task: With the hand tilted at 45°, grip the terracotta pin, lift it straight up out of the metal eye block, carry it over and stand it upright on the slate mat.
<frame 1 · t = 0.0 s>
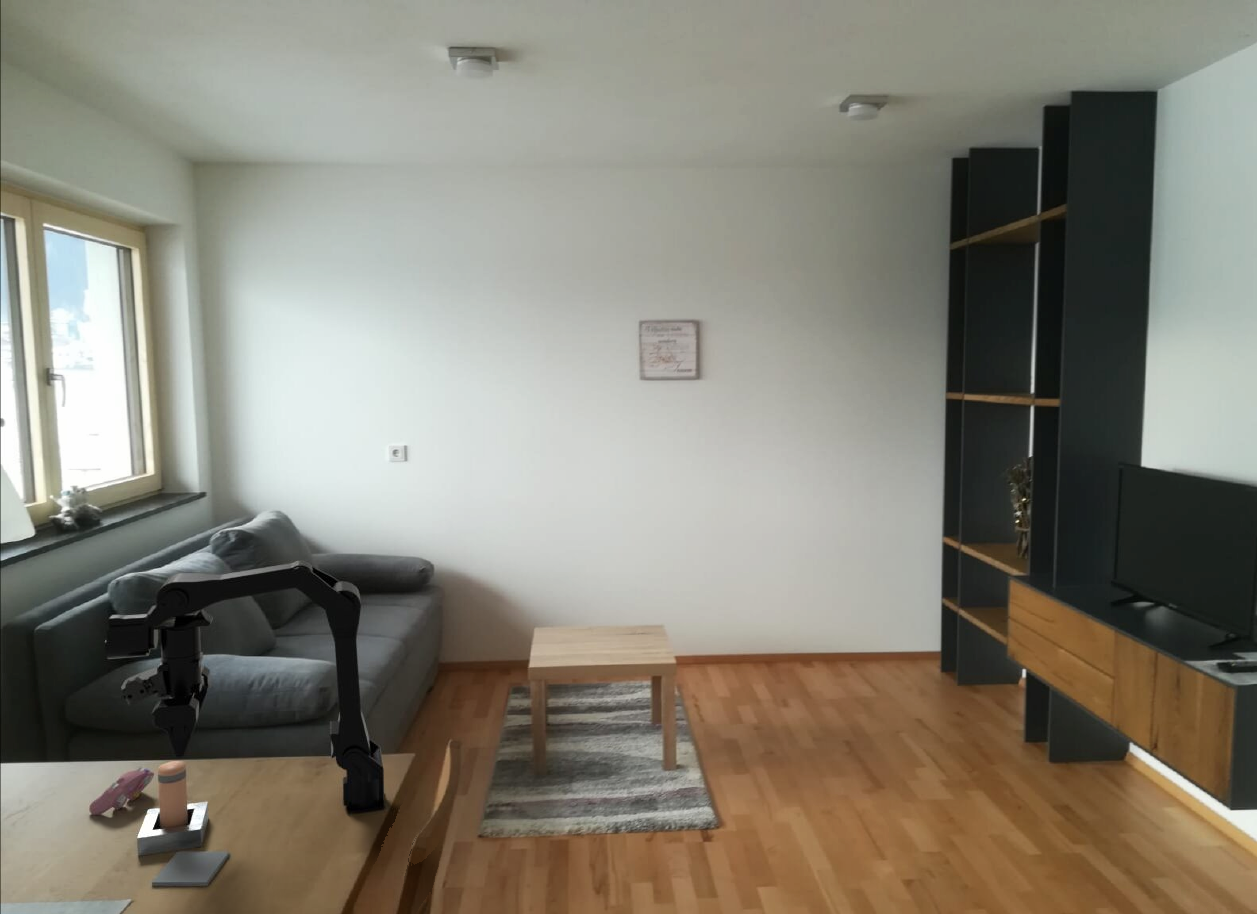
hand: (184, 744, 142), 15 cm above the table, tool pointing down, fingers open, 9 cm apart
mat: (191, 869, 132), on the table
pin: (173, 801, 140), in the eye block
eye block: (174, 836, 141), on the table
video game controller: (123, 804, 151), on the table
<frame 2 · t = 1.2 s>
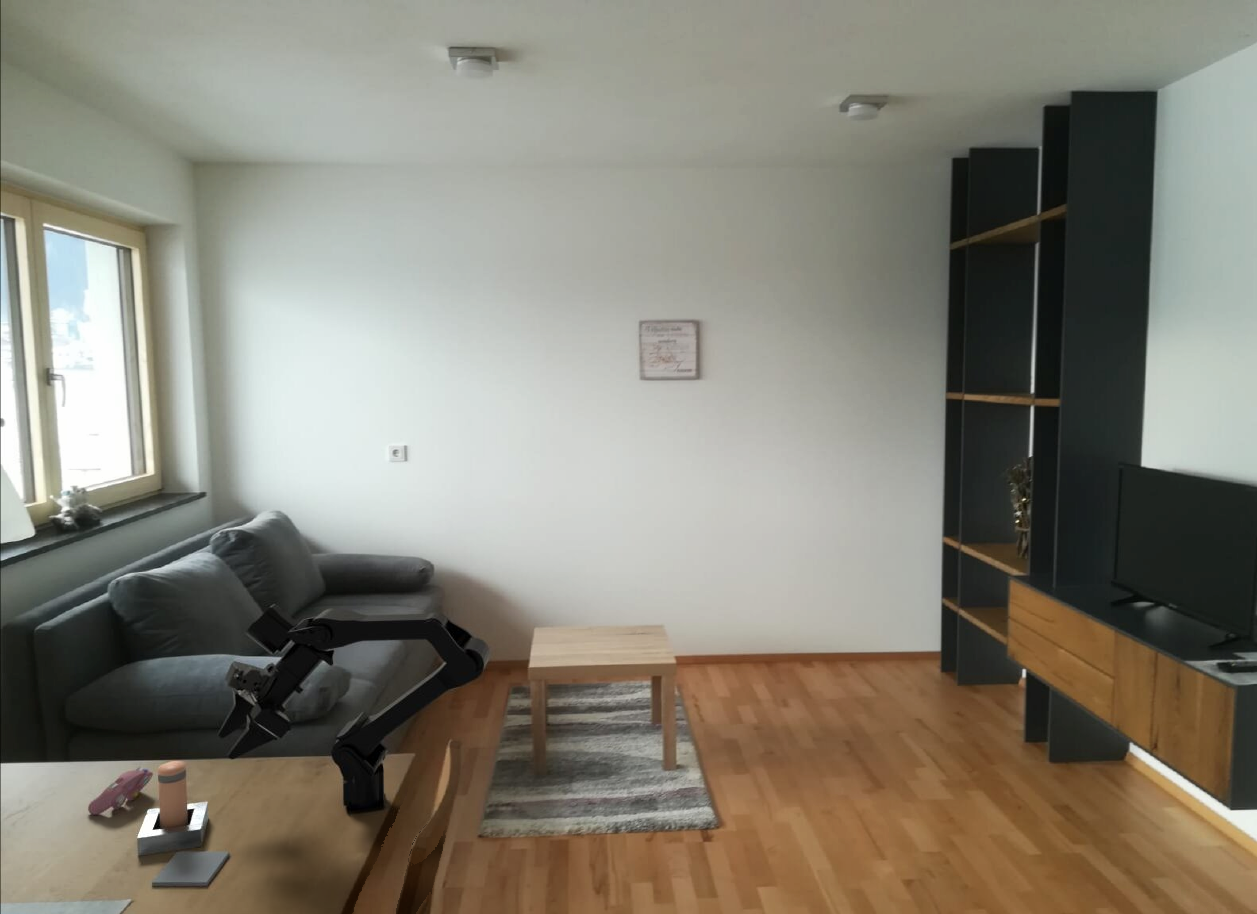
hand: (224, 747, 144), 13 cm above the table, tool tilted 45°, fingers open, 9 cm apart
nothing on the table moved.
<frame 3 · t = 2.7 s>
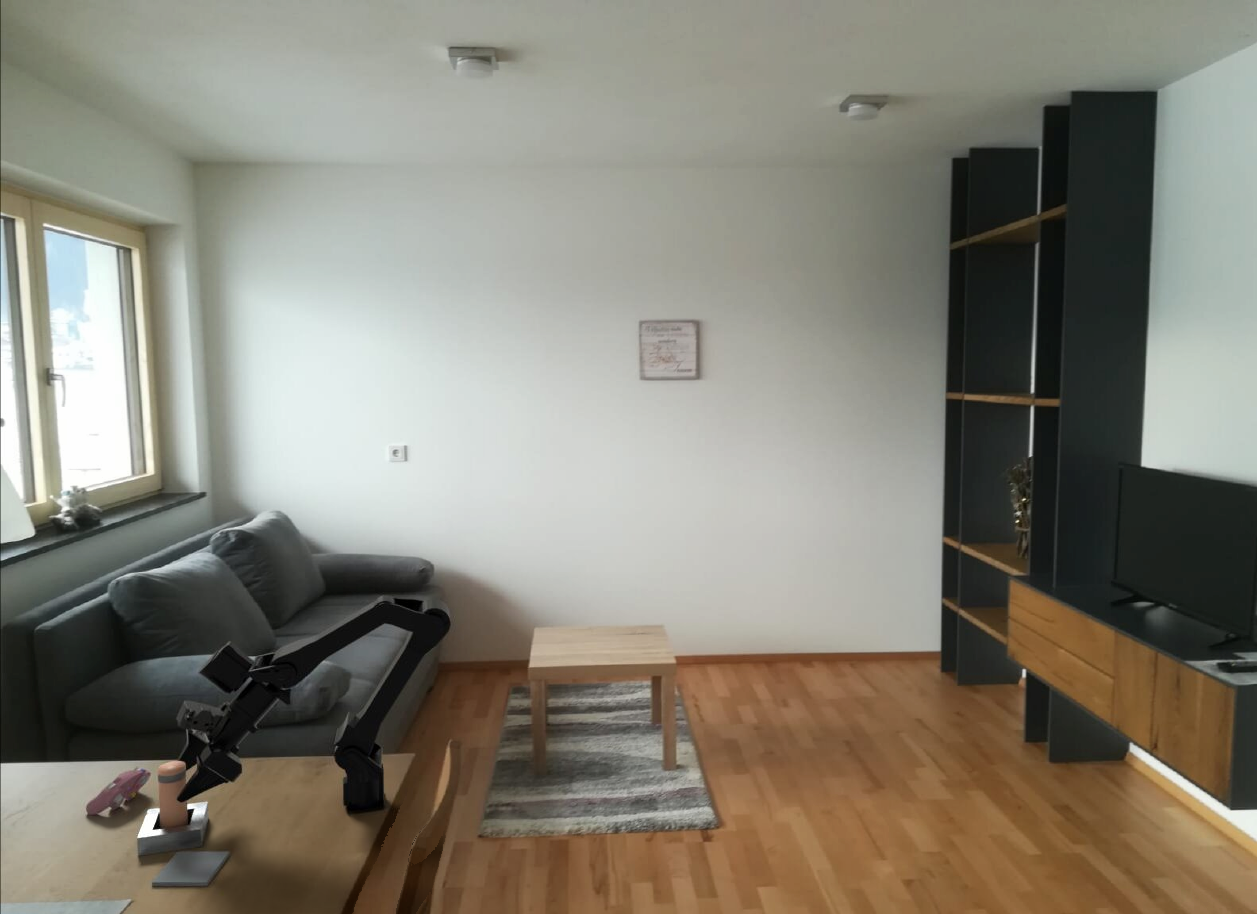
hand: (175, 788, 140), 8 cm above the table, tool tilted 45°, fingers open, 9 cm apart
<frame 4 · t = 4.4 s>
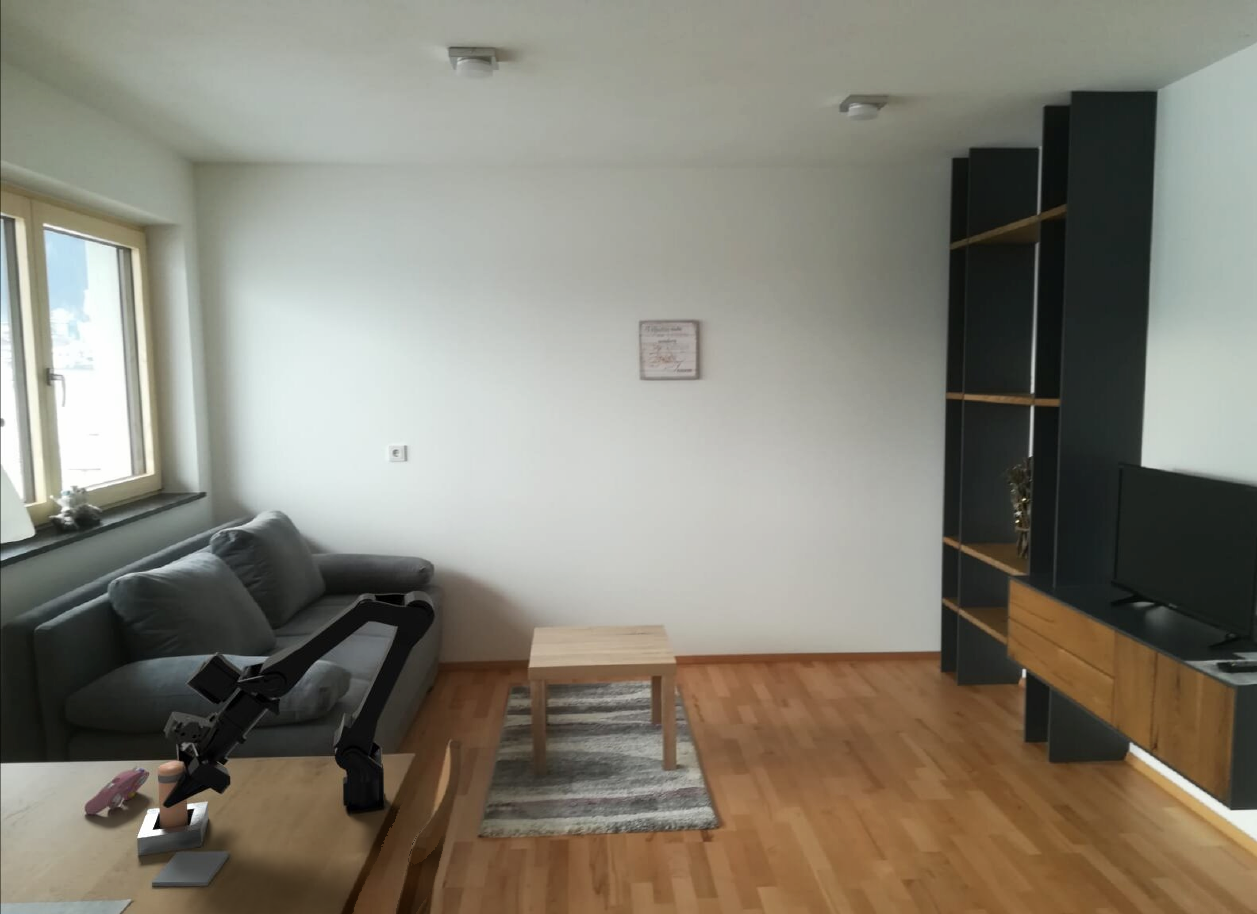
hand: (163, 800, 139), 7 cm above the table, tool tilted 45°, fingers closed on pin, 4 cm apart
pin: (173, 801, 140), in the eye block, touching gripper
everything else where it was.
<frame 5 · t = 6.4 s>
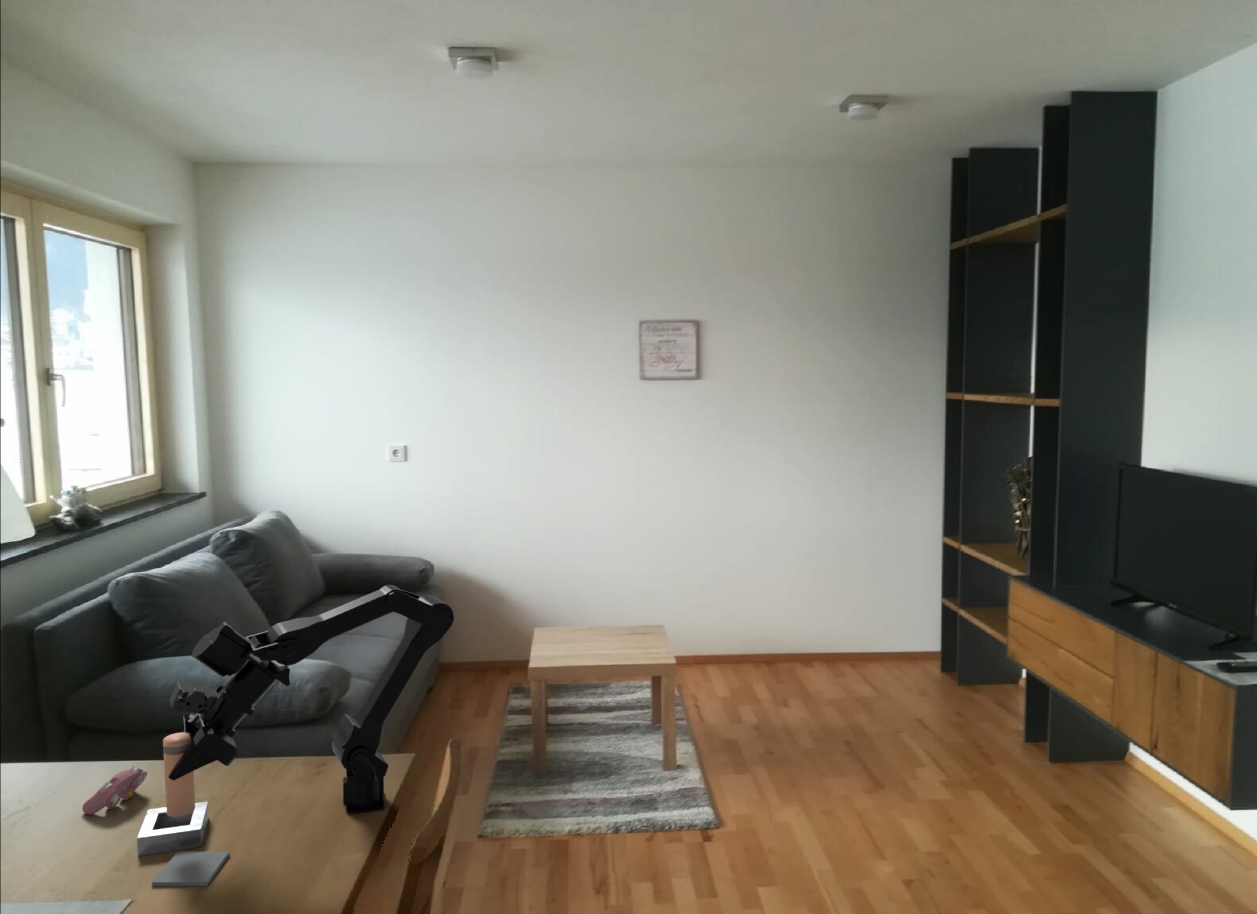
hand: (169, 772, 135), 13 cm above the table, tool tilted 45°, fingers closed on pin, 4 cm apart
pin: (179, 774, 136), point 13 cm above the table, touching gripper
when the fingers open (8 cm above the table, at t = 8.8 s): pin stays where it is, resting on mat.
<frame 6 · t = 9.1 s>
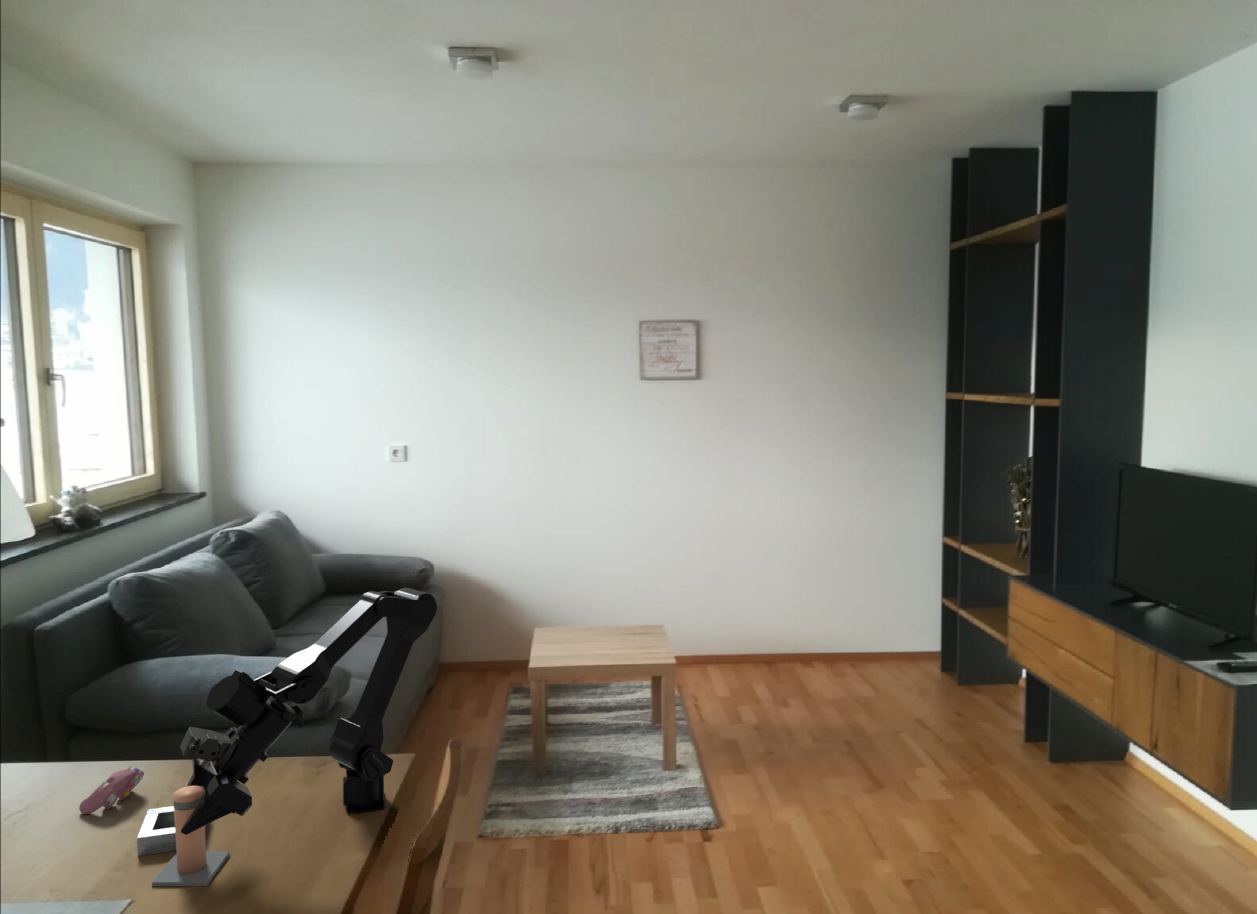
hand: (179, 822, 130), 8 cm above the table, tool tilted 45°, fingers open, 7 cm apart
pin: (190, 829, 131), on the mat, point 7 cm above the table
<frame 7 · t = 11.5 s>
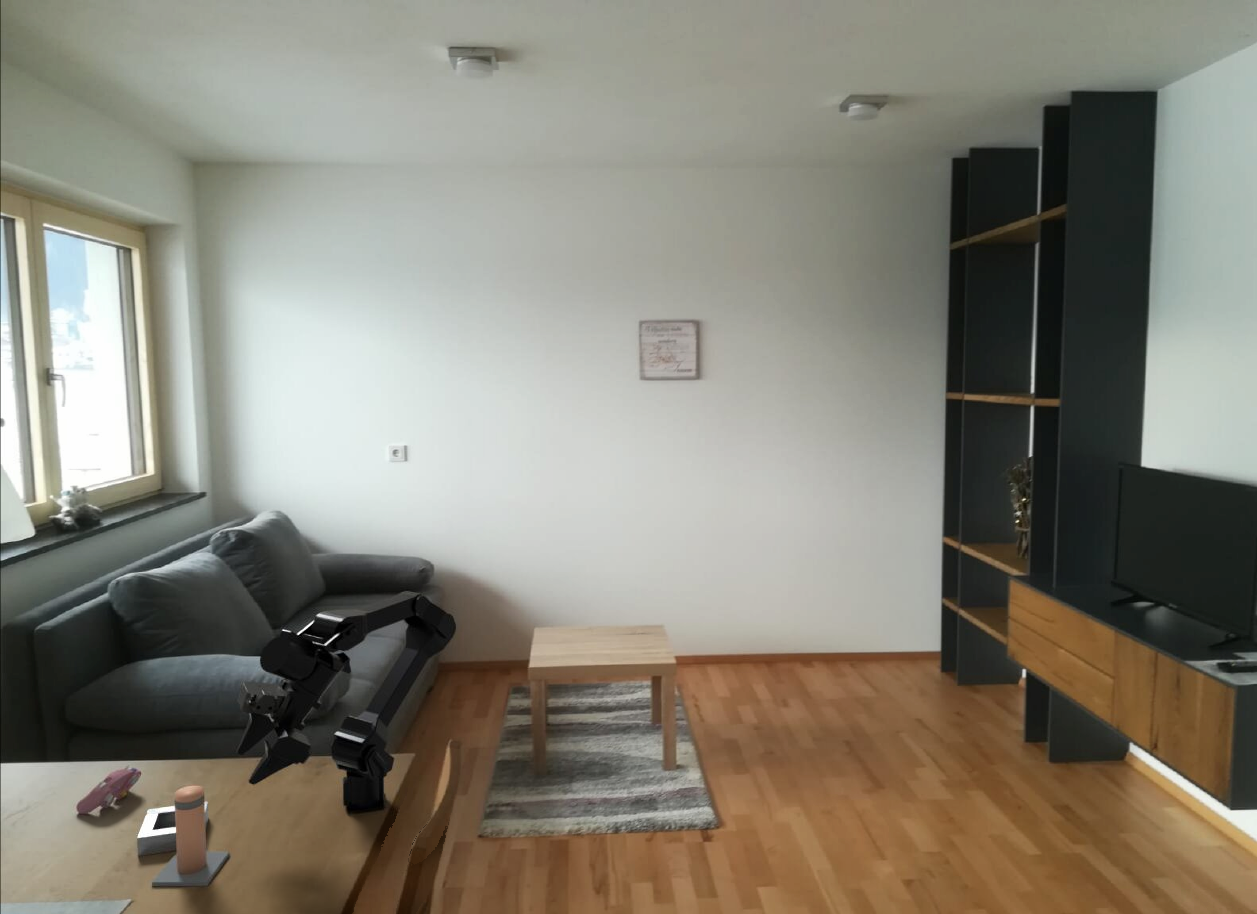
hand: (244, 768, 138), 13 cm above the table, tool tilted 40°, fingers open, 9 cm apart
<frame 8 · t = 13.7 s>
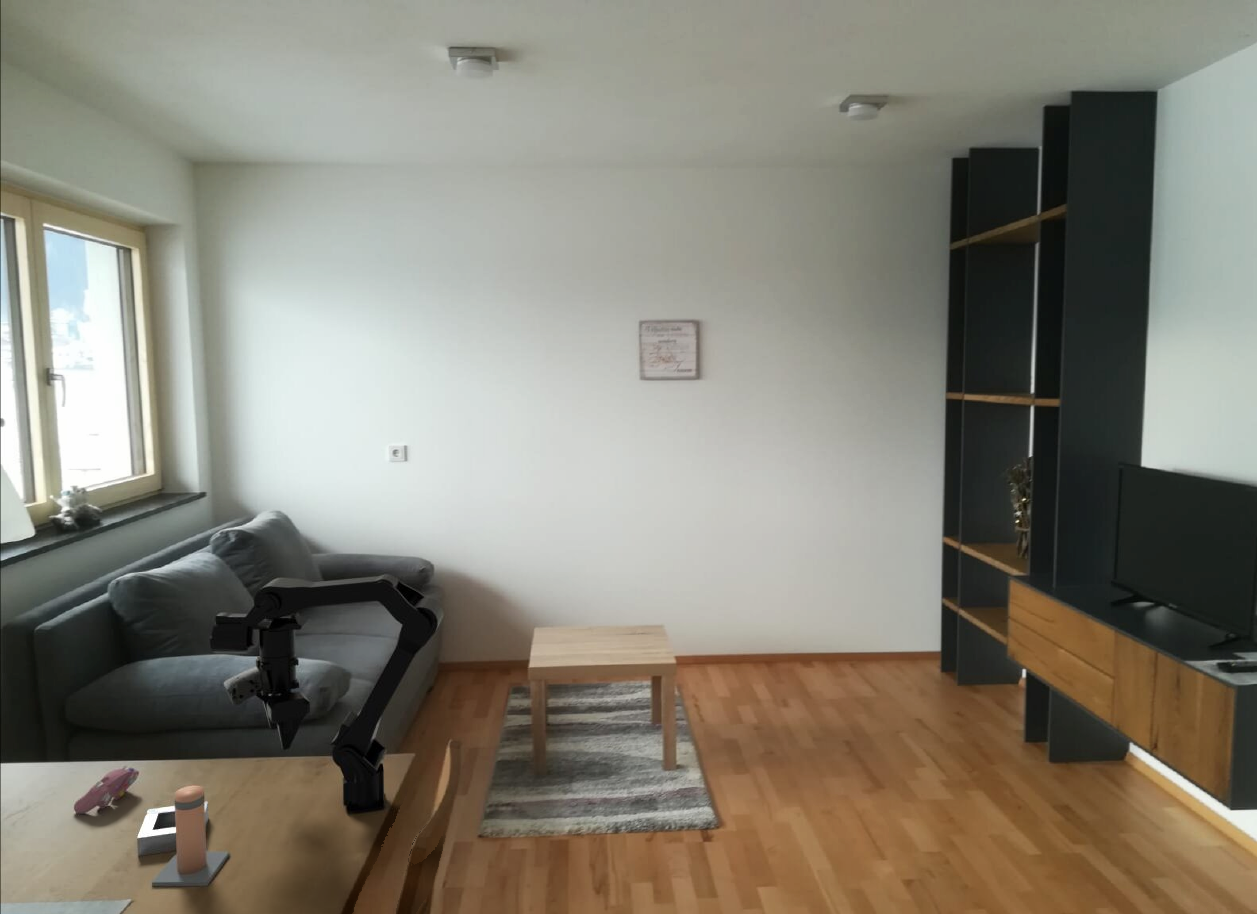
hand: (279, 738, 151), 12 cm above the table, tool pointing down, fingers open, 9 cm apart
at the end: pin inside the target area on the mat (0.0 cm from its centre), point 6.6 cm above the mat's base; pin tilted 0°; the gripper is holding nothing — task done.
